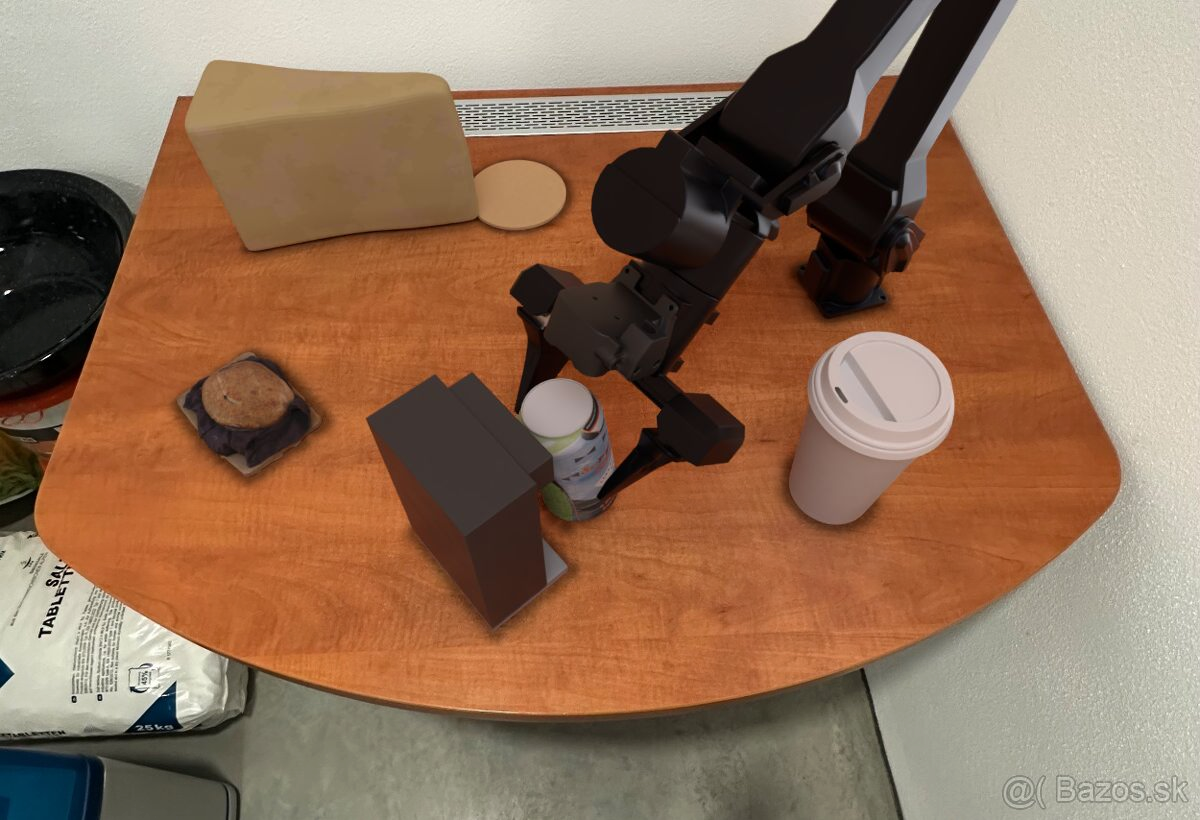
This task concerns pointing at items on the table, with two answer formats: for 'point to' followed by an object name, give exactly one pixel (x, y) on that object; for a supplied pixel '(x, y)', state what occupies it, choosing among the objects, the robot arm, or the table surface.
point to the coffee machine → (471, 491)
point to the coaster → (519, 194)
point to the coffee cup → (867, 422)
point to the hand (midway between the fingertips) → (558, 454)
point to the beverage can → (571, 446)
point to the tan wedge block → (330, 151)
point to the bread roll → (248, 413)
